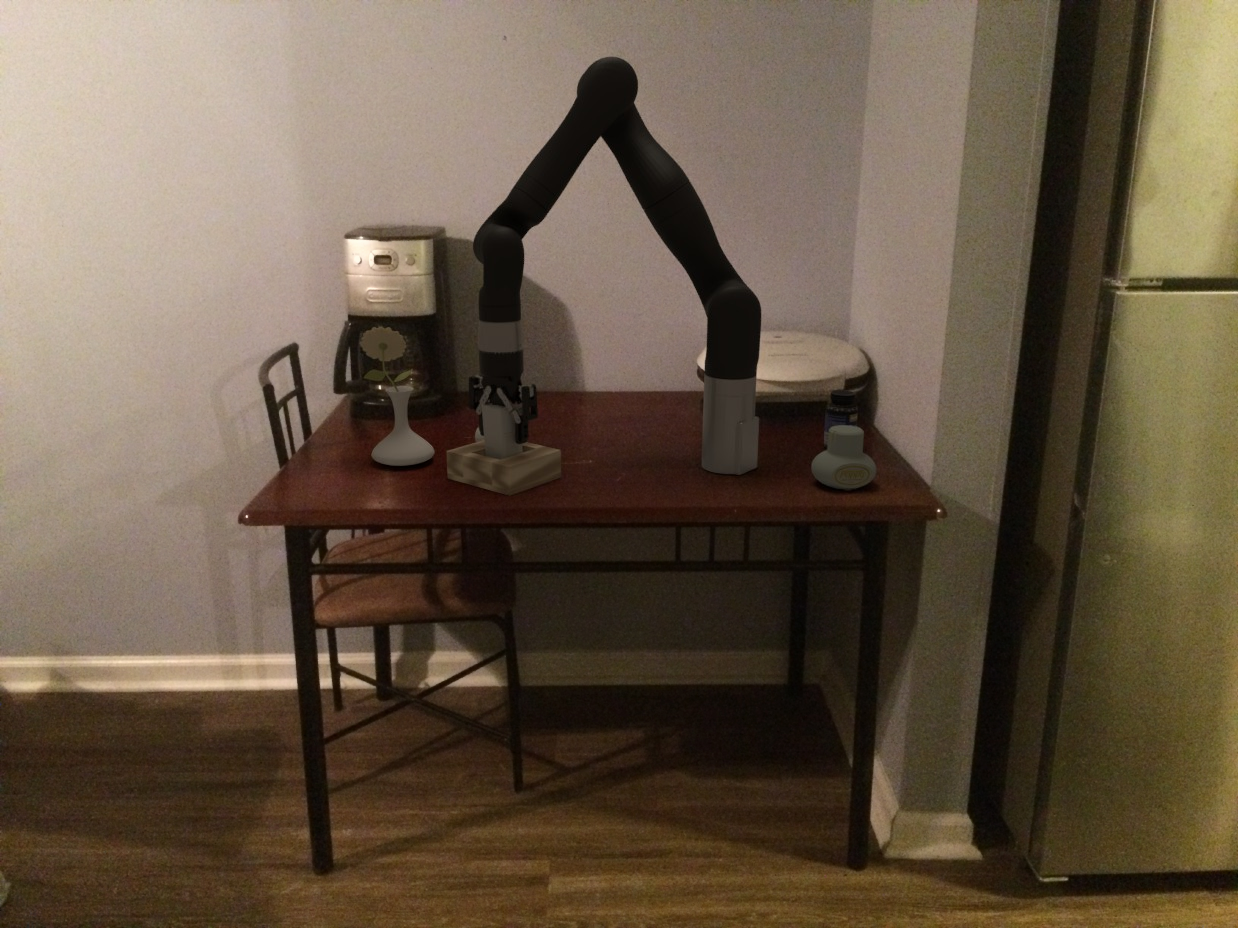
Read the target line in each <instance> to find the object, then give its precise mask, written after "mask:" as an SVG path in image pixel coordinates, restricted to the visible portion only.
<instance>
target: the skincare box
mask: <svg viewBox="0 0 1238 928" xmlns="http://www.w3.org/2000/svg"><path fill="white" fill-rule="evenodd" d="M513 405H515V404H513ZM518 412H519V414H520V415H521V413H520V411H518ZM482 417H483V429H484V442H485V454H486V457H490V458H494V459H498V460H501V459H505V458H508V457H511V456H514V455H517V454H520V453H523V449H522V444H517V443H516V442H515V423H516V421H515V419H514V417H513V415H512V413H510V412H508V410H507V408H506V407H503V406H500V405H493V404H492V403H488V404H485V405H484V406H483V405H482Z"/></svg>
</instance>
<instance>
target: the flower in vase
mask: <svg viewBox="0 0 1238 928" xmlns="http://www.w3.org/2000/svg"><path fill="white" fill-rule="evenodd" d="M362 335H363V336H362V337H361V341H359V345H360V347H361V348H362V351H363V352H365V355H366V356H368V357H369V358H371V359H373V360H375V359H378V361H380V362H382V370H383V371H380V370H378V369H371V370H369V371H368V372H367V373H366V374H365V375H364V377H363V379H365V380H371V381H375V382H381V381H383V380H384V378H385V376H386V378H387V379H388V380H389V382H390V383H391V384H392V386H389V387H387V388H385V392H386V393H387V394H388V396H389V398H390V399H391V403H392V405H393V411H394V412H393V413H394V426H393V429H392V431H391V432H390V433H389V434H387V436H386V437H384V438H383V439H382V440H381V441H380V442H378V443H377V444H376V446H374V448H373V449H372V453H371V457H372V459H373V460H374V461H375V462H377V463H380V464H383V465H385V466H387V465H388V466H391V467H392V466H395V467H397V466H398V467H399V466H401V467H402V466H403V467H404V466H412V465H418V464H422V463H424V462H426V461H429V460H430V459H432V458H433V456H434V455H435V453H436V452H435V449H434V447H433V446H432V445H431V444H430V443H429V442H428V440H426V439H424V438H423V437H421V436H420V435H419V434H417V433H416V432H415V431H413V430H412V429H411V427H410V424H409V420H408V404H409V399H410V396H411V394H412V392H413V391H414V387H413V386H409V385H396V384H395V383H397V382H401V381H404V380H405V379H407V378H408V377H409V376H410V375H411V374H412V372H413V368H412V369H410V370H408V371H405V372H403V373H400V374H399V375H397V377H395V379H394V380H392V379H391V377H390V376H389V375H388V373H387V371H386V368H385V362H391V360H393V361H395V360H397V358H402V357H403V356H404V353H405V352H406V350H405V349H406V348H408V347H407V342H406V341H405V339H403V338H404V336H403V335H402V334H400V331H398V330H397V331H394V330H392V328H391V327H389V326H388V327H386V328H384V326H378V327H374V326H373V327H372V328H371V329H370V330H366V331H365V332H363V334H362Z"/></svg>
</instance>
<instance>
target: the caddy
mask: <svg viewBox="0 0 1238 928" xmlns="http://www.w3.org/2000/svg"><path fill="white" fill-rule="evenodd" d="M522 449H523V453H520V454H517V455H514V456H511V457H508V458H505V459H501V460H498V459H494V458H490V457H486V454H485V442H484V440H483V441H479V442H476V441H475V442H472V443H470V444H465V445H463V446H459V447H455V448H453V449H448V450H446V467H447V468H446V472H447V473H446V474H447V479H448V480H452V481H456V482H459V483H463V484H467V485H469V486H474V487H478V488H481V489H485V490H489V491H491V492H494V493H499V494H502V495H506V496H514V495H516V494H518V493H521V492H524V491H527V490H530V489H532V488H535V487H539V486H540V485H543V484H546V483H550V482H551V481H552V482H553V481H554V480H557V479H561V478H562V450H561V449H557V448H553V447H550V446H545V445H540V444H536V443H532V442H528V441H527V442H526V443H523V444H522Z"/></svg>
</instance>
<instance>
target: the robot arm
mask: <svg viewBox="0 0 1238 928" xmlns="http://www.w3.org/2000/svg"><path fill="white" fill-rule="evenodd" d="M638 91H639V80H638V76H637V73H636V70H635V69H634V68H633V66H632V65H631V63H630V62H628V61H627V60H625V59H623V58H621V57H620V56H619V57H617V56H606V57H601V58H600V59H597V60H595V61H593V62H592V63H591V64H590V65H589V66H588V67H587V68H586V70H585V71H584V72H583V74H582V75H581V76H580V78H579V79H578V83H577V85H576V97H575V100H574V102H573V103H572V105H571V107H570V109H569V110H568V113H567V114H566V115H565V117H564V118H563V120H562V122H561V123H560V125H559V126H558V127H557V129H556V130H555V132H554V133H553V134H552V135H551V137H550V138H549V139H548V140H547V142H545V144H544V145H543V146H542V148H541V149H540V150H539V151H538V153H537V154H536V155H535V157H534V158H533V159H532V160H531V161H530V163H529V164H528V165H527V167H526V168H525V169H524V171H523V172H522V174H521V175H520V177H519V179H517V181H516V183H514V185H513V186H512V189H511V190H510V192H509V193H508V195H507V196H506V198H505V199H503V201H502V202H501V204H499V205H498V206H497V207H496V208H495V209H494V211H492V213H491V214H490V215H489V216H488V217H487V218H486V219H485V220H484V222H483V223H482V224H481V226H480V227H479V229H478V230H477V232H476V234H475V235H474V238H473V242H472V250H473V254H474V257H475V258H476V259H477V261H479V263H480V264H482V266H483V273H482V274H483V277H482V283H483V284H482V286H481V287H480V288H479V291H478V330H477V336H478V337H477V341H478V343H477V344H478V369H479V374H476V375H472V376H470V377H468V408H469V409H470V411H471V410H474V411H475V412H476V414H477V415H478V427H479V430H480V434H481V435H482V436H484V429H483V417H482V405H483V406H484V405H485V404H488V403H492V404H493V405H500V406H503V407H506V408H507V410H508V412H510V413H512V415H513V417H514V419H515V421H516V423H515V442H516V443H517V444H523V443H526V442H528V441H529V422H530V421H533V420H537V419H538V417H539V412H538V411H539V410H538V409H539V408H538V398H537V397H538V393H537V391H538V390H537V386H536V384H534V383H531V384H527V385H526V384H523V382H522V375H523V373H524V371H525V370H524V368H525V367H524V363H525V362H524V331H523V324H522V310H521V309H522V308H521V307H522V304H521V301H522V300H521V288H522V284H523V278H524V269H525V268H524V267H525V246H524V243H523V239H524V237H525V236H526V235H527V234H528V233H529V231H530V230H531V229H532V228H534V227H537V226H538V225H540V224H541V223H542V222H543V221H544V220H545V218H546V217H547V216H548V214H549V213H550V211H551V210H552V209H553V207H554V206H555V204H556V203H557V201H559V200H558V199H559V198H560V197H561V196H562V193H563V192H564V191H565V190H566V188H567V186H568V185H569V183H570V182H571V179H572V178H573V177H574V176H575V173H576V172H577V170H578V169H579V167H580V166H581V165H582V162H583V161H584V159H585V158H586V157H587V155H588V154H589V152H590V151H591V150H592V148H593V147H594V145H596V143H597V142H598V140H600V138H601V139H602V140H603V141H604V143H605V144H606V146H607V147H608V148H609V150H610V151H611V153H612V154H613V156H614V158H615V159H616V162H617V164H618V165H619V168H620V169H621V171H622V173H623V175H624V177H625V180H626V181H627V183H628V185H629V186H630V188H631V190H632V192H633V194H634V196H635V197H636V200H637V201H638V203H639V205H640V207H641V209H642V210H643V212H644V214H645V216H646V217H647V219H648V220H649V222H650V224H651V226H652V228H653V230H655V232H656V233H657V235H658V236H659V238H660V239H661V241H662V242H663V243H664V246H666V248H667V249H668V250H669V251H670V252H671V254H672V255H673V256H674V257H675V259H676V260H677V261H678V263H680V265H681V266H682V268H683V269H684V271H685V272H686V273H687V276H688V277H689V278H690V281H691V283H692V284H693V286H694V289H695V291H696V294H697V295H698V297H699V298H698V299H699V300H700V303H701V305H702V307H703V309H704V312H705V315H706V317H707V319H706V323H707V324H706V349H705V357H704V375H703V376H704V378H703V379H704V381H703V406H702V407H703V410H702V411H703V412H702V439H701V440H702V441H701V442H702V443H701V468H702V469H703V470H705V471H708V472H711V473H716V474H721V475H723V474H724V475H738V476H741V475H743V474H745V473H747V472H750V471H752V470H755V469H756V468H757V467H758V457H759V454H758V453H759V428H760V418H759V416H756V398H757V397H756V396H757V394H756V393H757V374H758V372H757V371H758V365H759V360H760V348H761V332H762V331H761V330H762V305H761V302H760V300H759V298H758V296H757V295H756V294H755V293H754V291H753V290H752V289H751V288H750V287H749V286H748V285H747V284H746V283H745V281H744V280H743V278H742V277H741V276H740V275H739V273H738V272H737V270H736V269H735V267H734V266H733V265H732V263H731V262H730V260H729V259H728V256H726V254H725V251H724V250H723V248H722V246H721V244H720V242H719V240H718V237H717V234H716V231H715V229H714V226H713V224H712V222H711V219H710V216H709V214H708V212H707V210H706V208H705V206H704V204H703V202H702V199H701V198H700V196H699V194H698V193H697V191H696V189H695V188H694V186H693V184H692V182H691V181H690V179H689V177H688V175H687V174H686V172H685V171H684V169H682V166H680V164H678V162H677V161H676V160H675V159H674V158H673V157H672V156H671V155H670V154H669V153H668V152H667V151H666V150H665V149H664V147H662V145H661V144H660V143H659V142H658V141H657V140H656V139H655V137H654V136H653V135H652V134H651V132H650V131H649V129H648V128H647V126H646V124H645V122H644V120H643V119H642V116H641V114H640V112H639V111H638V108H637V106H636V104H635V102H636V99H637V96H638ZM513 404H514V405H513ZM518 411H520V414H519V412H518Z"/></svg>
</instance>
